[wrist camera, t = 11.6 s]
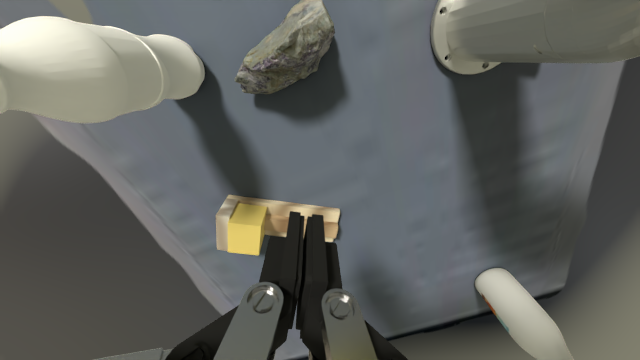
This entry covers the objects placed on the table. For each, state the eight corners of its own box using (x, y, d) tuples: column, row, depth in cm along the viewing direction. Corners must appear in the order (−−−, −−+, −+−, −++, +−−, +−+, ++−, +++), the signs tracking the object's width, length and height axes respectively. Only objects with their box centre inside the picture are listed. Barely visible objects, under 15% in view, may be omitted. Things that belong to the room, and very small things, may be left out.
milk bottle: (471, 273, 53) (552, 382, 35) (507, 262, 51) (610, 369, 33) (475, 294, 56) (552, 404, 38) (509, 284, 55) (605, 392, 37)
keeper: (267, 206, 41) (260, 226, 36) (264, 233, 44) (258, 255, 39) (237, 203, 41) (227, 222, 36) (237, 230, 43) (227, 252, 38)
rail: (339, 208, 44) (343, 230, 38) (332, 238, 47) (334, 261, 41) (228, 194, 42) (215, 215, 36) (228, 226, 45) (217, 249, 39)
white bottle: (195, 30, 30) (-123, -50, 8) (219, 87, 34) (37, 142, 11) (144, 46, 31) (-278, 10, 9) (173, 100, 34) (-85, 176, 12)
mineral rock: (247, 94, 34) (224, 106, 25) (228, 3, 29) (192, -22, 20) (335, 87, 34) (344, 96, 25) (331, -5, 29) (340, -34, 20)
